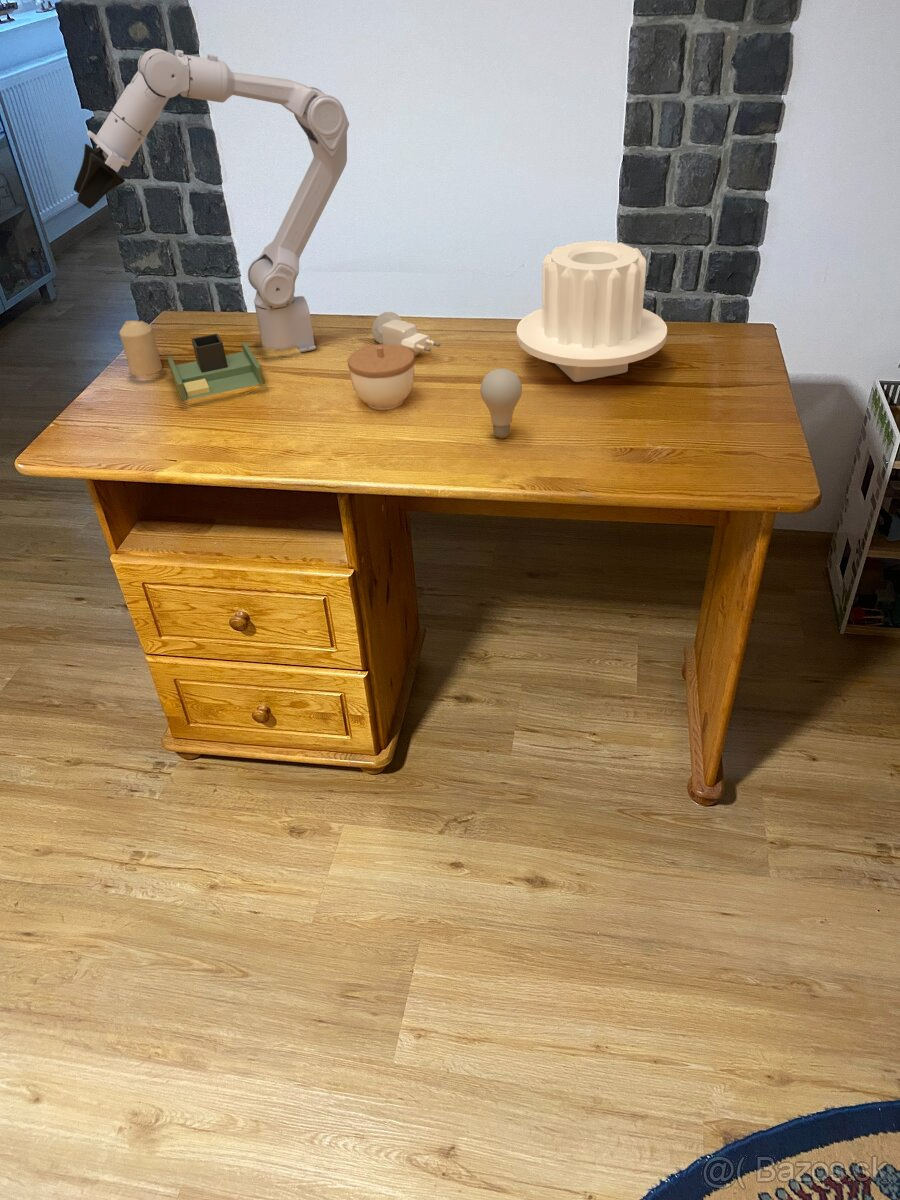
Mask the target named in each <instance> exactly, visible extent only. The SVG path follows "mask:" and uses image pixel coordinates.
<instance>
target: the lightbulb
mask: <svg viewBox="0 0 900 1200" xmlns="http://www.w3.org/2000/svg"><path fill="white" fill-rule="evenodd" d="M522 393H523V386H522V382H521V378H520V377H519V376H518V375H517V374H516V373H515V372H514V371H513V370H510V369H508V368H504V367H503V368H502V367H501V368H495V369H492V370H491V371H489V372H487V374H486V375H485V376H484V377H483V379H482V380H481V384H480V395H481V396H480V397H481V400H482V401H483V403H484V404H485V406H486V408H487V409H488V411H489V414H490V422H491V424H492V429H493V430H492V431H493V435H494V436H495V437H496V438H498V439H505V438H506V437H509V436H510V434H511V425H512V424H511V423H512V422H513V416H514V415H513V414H514V411H515V408H516V407H517V405H518V403H519V401H520V399H521V397H522Z"/></svg>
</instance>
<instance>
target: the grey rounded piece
mask: <svg viewBox="0 0 900 1200" xmlns="http://www.w3.org/2000/svg"><path fill="white" fill-rule="evenodd" d="M394 319H398V320H402V318H401V316H400V315H399V314H397V313H395V312H393V311H385V312H382V313H380V314H379V315H377V317H376V318H375V319H374V320H373V323H372V326H371V332H372V336H373V339H374V340H375V342H377V343H379V345H381V344H383V337H382V326H383V324H385V323H387V322H389V321H391V320H394Z"/></svg>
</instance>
